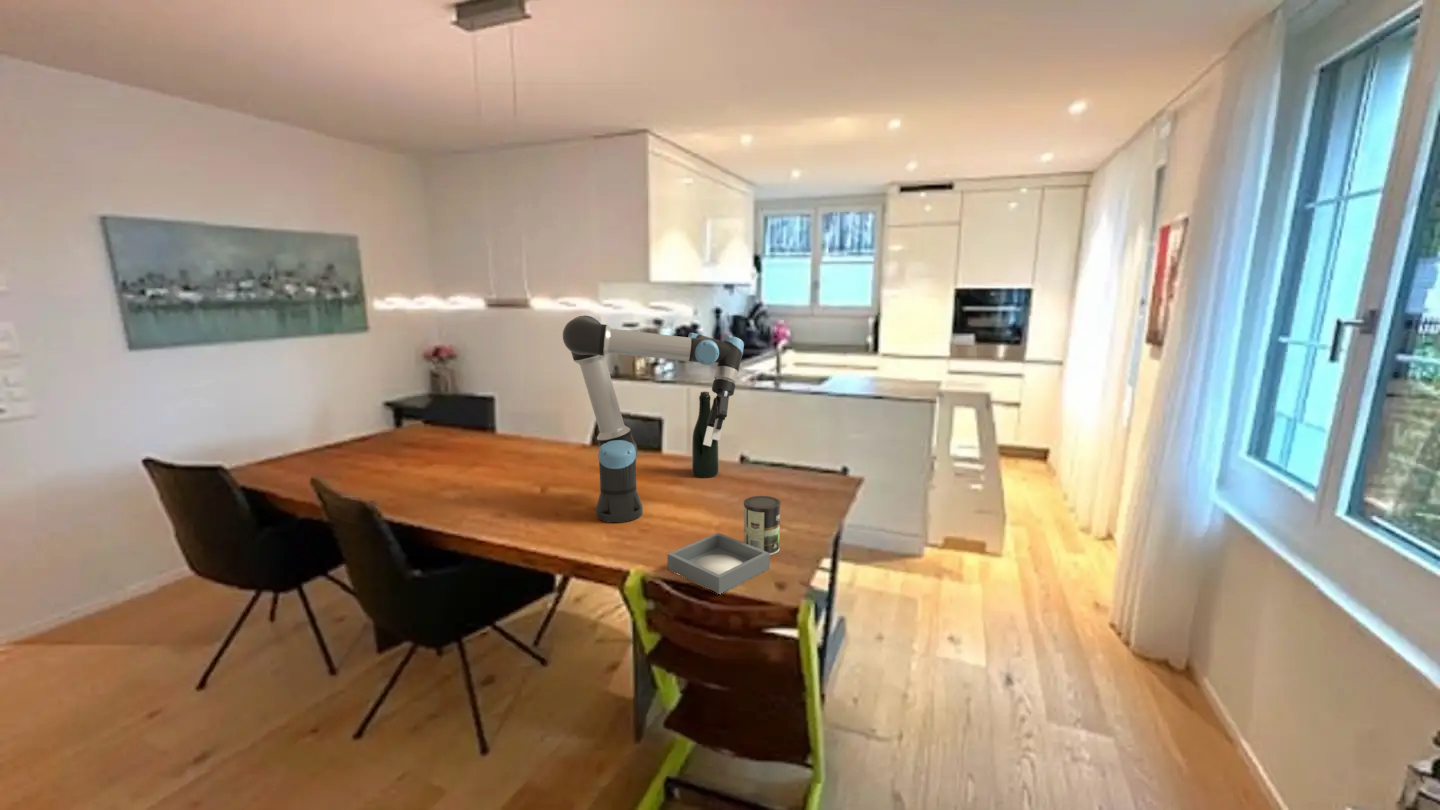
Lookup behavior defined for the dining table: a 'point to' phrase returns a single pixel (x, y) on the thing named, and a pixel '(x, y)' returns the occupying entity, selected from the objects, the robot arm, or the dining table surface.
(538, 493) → the dining table surface
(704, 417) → the beer bottle
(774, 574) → the dining table surface
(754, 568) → the walled box
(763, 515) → the coffee can
